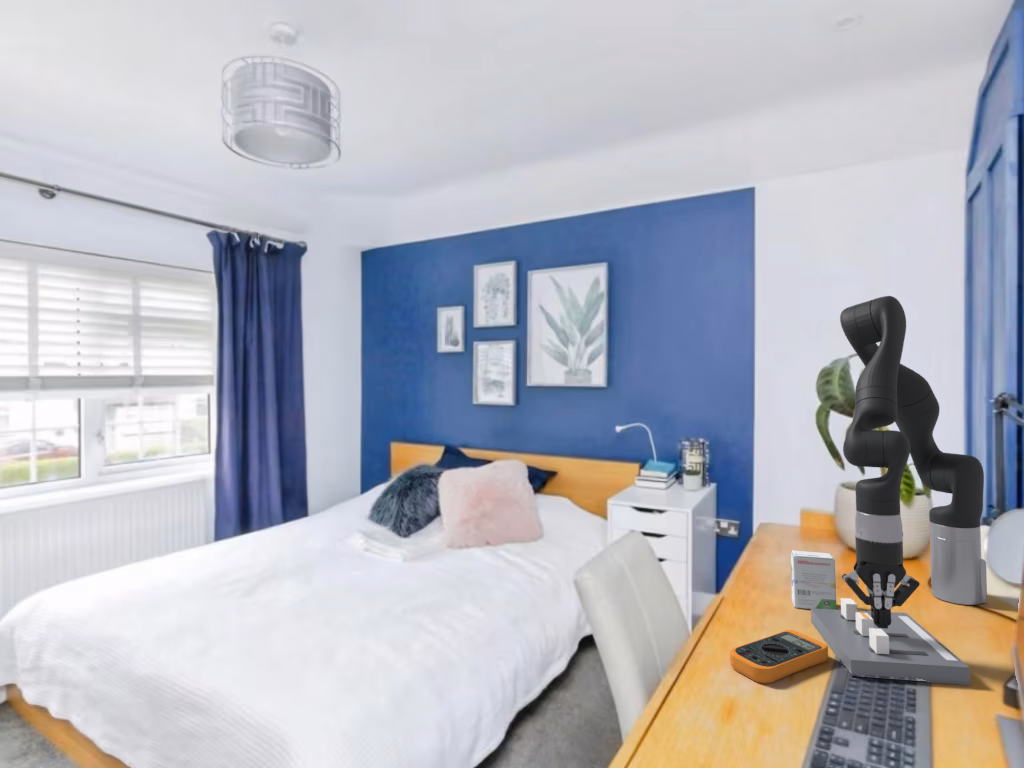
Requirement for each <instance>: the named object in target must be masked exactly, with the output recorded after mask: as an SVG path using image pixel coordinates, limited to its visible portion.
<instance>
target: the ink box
mask: <svg viewBox="0 0 1024 768" xmlns="http://www.w3.org/2000/svg"><path fill="white" fill-rule="evenodd" d="M790 565H791V566H790V570H791V571H790V573H791V578H790V579H791V601H792V604H793V607H794V608H797V609H807V610H811V608H814V609H835V610H837V582H836V581H837V577H836V559H835V557H834V556H833V554H832V553H829V552H828V553H827V552H818V551H817V552H815V551H814V552H813V551H802V550H793V549H792V550H790Z"/></svg>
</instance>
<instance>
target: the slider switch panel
mask: <svg viewBox="0 0 1024 768" xmlns="http://www.w3.org/2000/svg"><path fill="white" fill-rule="evenodd" d="M857 612H861V613H868V614H869V615H870V616H871V610H857ZM810 616H811V617H810V622H811V624H812V625H813V627H814V628H815V629H816V631H817V632H818V634H819V635H820V636H821V638H822V639H823V641H825V644H826V645H827V646H828V648H829V649H830V650H831V651H832V653H833V654H834V655H835V657H836V656H837V657H838V658H839V659H841V661H842V662H843V663H844V665H845V666H846V667H847V669H848V670H849V672H850V673H851V674H860V675H861V674H862V675H872V676H873V675H874V676H875V675H876V676H877V675H878V676H892V677H893V676H894V677H900V676H901V677H912V678H918V679H923V680H926V681H929V682H928V683H933V684H945V685H960V686H961V685H962V686H970V685H971V675H970V674H971V672H970V671H971V670H970V669H971V668H970V666H969V665H968V664H966V663H965V662H964V661H963V660H962V659H961V658H959V656H957V655H956V654H955V653H954V652H953V651H951V650H950V649H949V648H947V647H946V645H944V644H943V643H942V642H941V641H940V640H938V639H937V638H936V637H935V636H934V635H932V633H930V632H929V631H928V630H926V628H924V627H923V626H922V625H921V624H920V623H918V622H917V621H916V620H915V619H914V618H913V617H912V616H911V615H909V613H907V612H896V611H895V612H894V611H893V612H892V611H891V624H890V625H888V628H878V627H877V626H876V625H875V624H874V628H876V629H882V630H883V631H884V632H885V633H886V634H887V635H888V636H889V654H877V653H876V652H875V651H874V650H873V649H872V648H871V647H870V644H869V636H862V635H861V634H860V633H859V632H858V630H857V629H856V620H846V619H845V617H844V616H843V615H842V614H841V609H836V610H835V609H814V608H811V609H810ZM837 657H836V658H837ZM838 658H837V659H838ZM839 659H838V660H839Z"/></svg>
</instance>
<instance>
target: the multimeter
mask: <svg viewBox="0 0 1024 768" xmlns="http://www.w3.org/2000/svg"><path fill="white" fill-rule="evenodd" d="M828 658H829V646H828V644H826V643H823V642H822V641H819V640H817V639H816V638H812V637H810V636H808V635H805V634H803V633H800V632H798V631H796V630H794V629H786V630H782V631H781V632H778V633H775V634H772V635H770V636H767V637H763V638H761V639H758V640H754V641H751V642H748V643H745V644H742V645H738V646H735V647H733V648H731V649H729V663H730V666H731V667H732V669H733V670H735V671H736V672H737V673H740V674H741V675H743V676H744V677H746V678H748V679H750V680H752V681H754V682H756V683H759V684H772V683H775V682H776V681H779V680H781V679H784V678H786V677H787V676H790V675H792V674H794V673H795V674H796V673H798V672H800V671H802V670H803V671H804V670H805V669H808V668H810V667H813V666H816V665H817V666H818V665H819V664H820V665H821V664H823V663H826V662H827V660H828Z"/></svg>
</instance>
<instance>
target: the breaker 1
mask: <svg viewBox="0 0 1024 768" xmlns="http://www.w3.org/2000/svg"><path fill="white" fill-rule="evenodd" d="M840 610H841V614H842V615H843V616H844V617H845V619H846V620H856V613H855V612H857V611H858V603H857V602H856V601H855V600H853V598H847V597H845V598H844V597H840Z"/></svg>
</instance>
